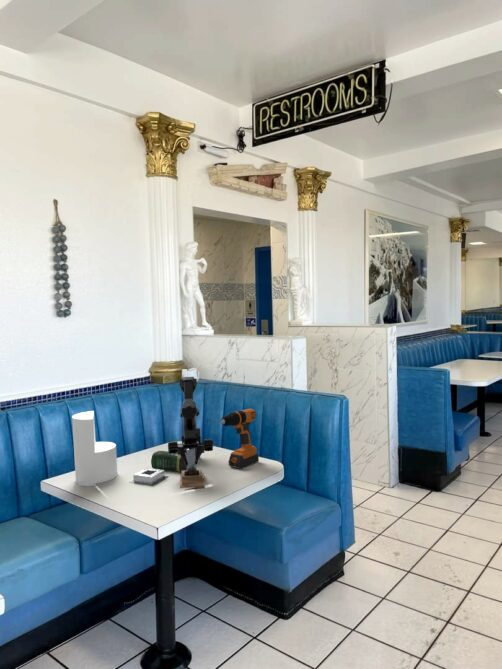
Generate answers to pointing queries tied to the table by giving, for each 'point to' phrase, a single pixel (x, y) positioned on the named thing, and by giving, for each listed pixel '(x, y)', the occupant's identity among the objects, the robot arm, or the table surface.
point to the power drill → (242, 438)
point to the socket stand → (149, 477)
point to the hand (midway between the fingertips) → (191, 464)
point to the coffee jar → (168, 461)
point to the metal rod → (191, 461)
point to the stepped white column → (91, 452)
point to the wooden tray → (192, 480)
